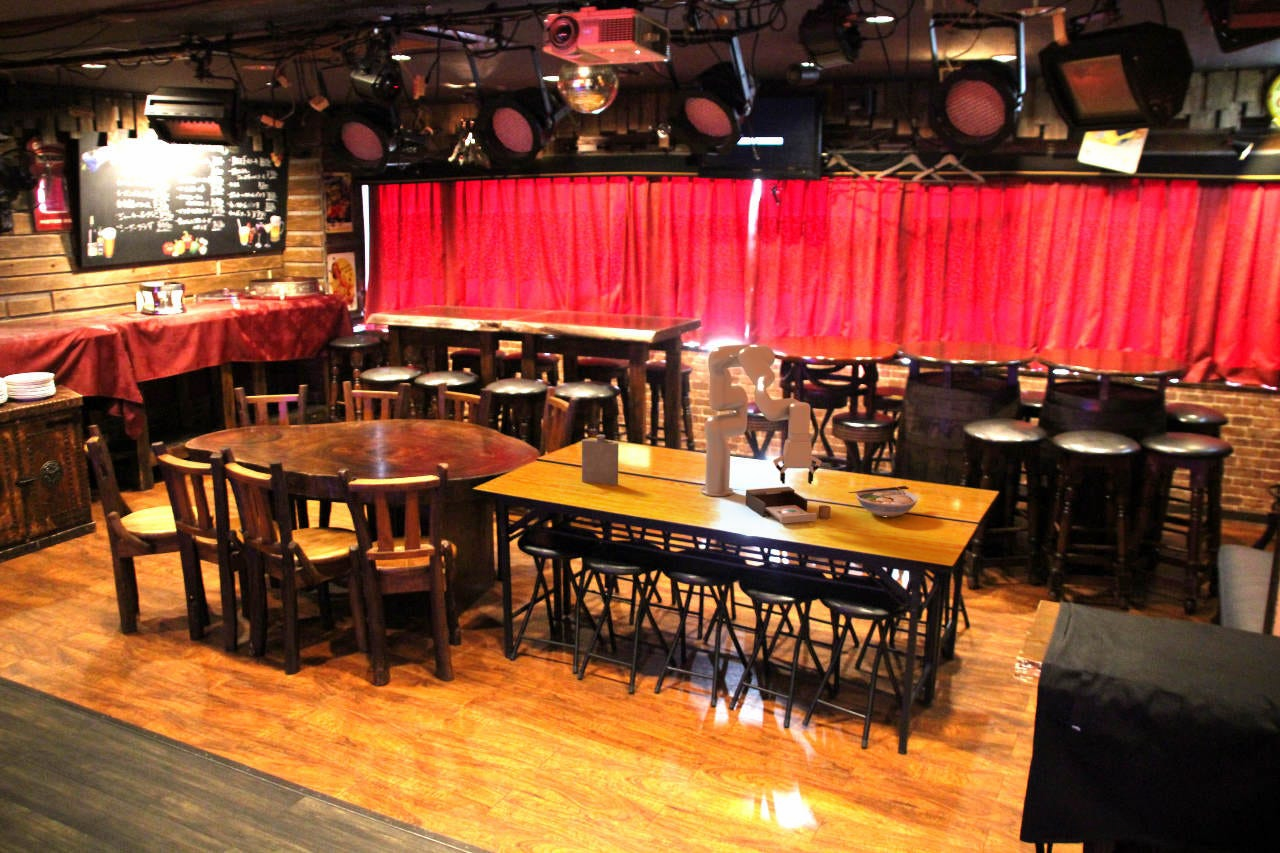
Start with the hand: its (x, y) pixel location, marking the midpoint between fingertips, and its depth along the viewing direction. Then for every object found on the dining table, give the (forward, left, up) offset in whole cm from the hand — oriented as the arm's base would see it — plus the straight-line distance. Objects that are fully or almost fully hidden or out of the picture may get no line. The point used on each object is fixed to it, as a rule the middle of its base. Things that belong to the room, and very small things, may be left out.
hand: (796, 483), depth 378 cm
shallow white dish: (-3, 0, -13) cm, 13 cm away
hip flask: (-69, -54, -15) cm, 89 cm away
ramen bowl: (+1, +37, -15) cm, 40 cm away
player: (-16, 0, -15) cm, 22 cm away
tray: (-4, 0, -14) cm, 14 cm away
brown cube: (-2, +13, -15) cm, 20 cm away
